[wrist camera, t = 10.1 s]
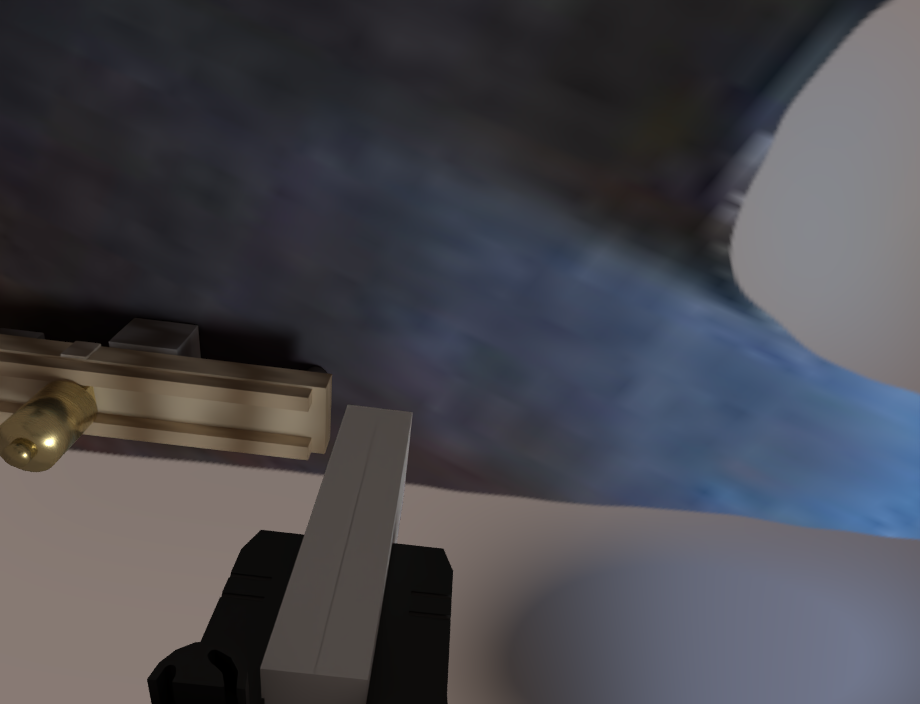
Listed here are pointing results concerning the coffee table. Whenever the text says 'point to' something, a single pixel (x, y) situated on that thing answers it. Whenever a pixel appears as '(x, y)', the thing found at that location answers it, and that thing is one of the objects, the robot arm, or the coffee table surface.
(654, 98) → the coffee table surface
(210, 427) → the stand
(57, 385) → the rider
